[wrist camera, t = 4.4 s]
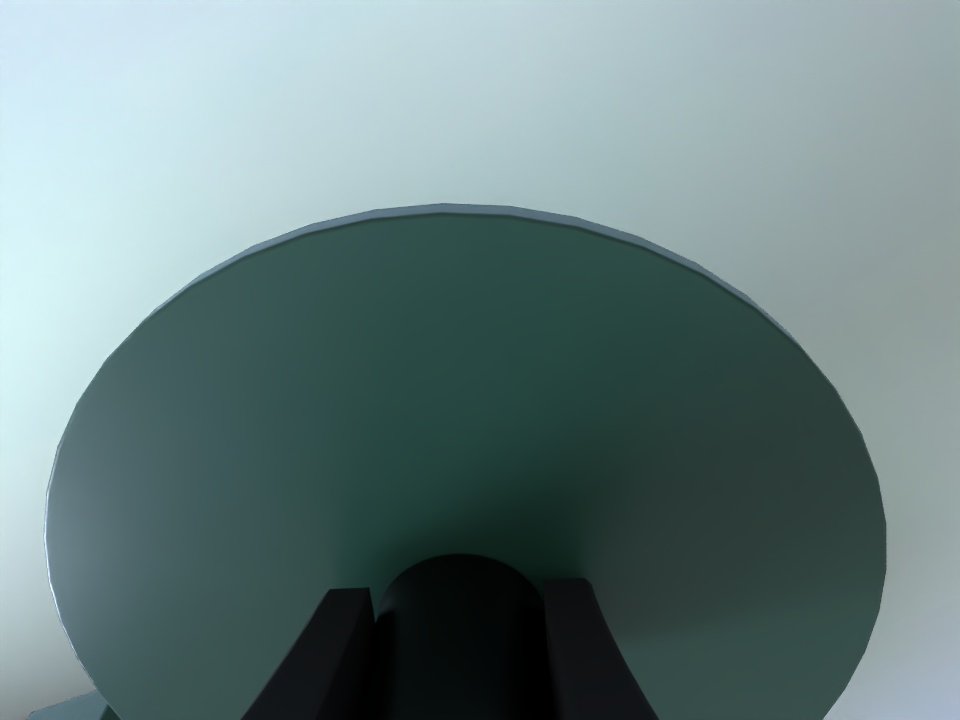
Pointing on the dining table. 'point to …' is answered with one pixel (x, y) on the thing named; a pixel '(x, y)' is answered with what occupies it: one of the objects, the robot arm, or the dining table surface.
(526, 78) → the dining table surface
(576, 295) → the lid
